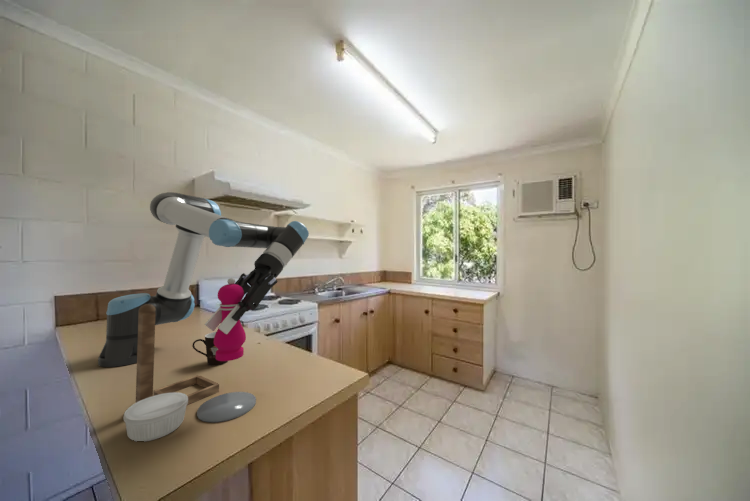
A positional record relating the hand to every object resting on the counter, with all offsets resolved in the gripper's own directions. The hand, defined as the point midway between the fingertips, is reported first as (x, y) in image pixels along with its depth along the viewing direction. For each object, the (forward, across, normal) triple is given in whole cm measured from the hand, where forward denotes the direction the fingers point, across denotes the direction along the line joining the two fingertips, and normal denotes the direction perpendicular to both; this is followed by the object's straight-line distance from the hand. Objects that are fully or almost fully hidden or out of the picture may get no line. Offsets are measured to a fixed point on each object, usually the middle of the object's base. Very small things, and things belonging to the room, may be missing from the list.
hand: (215, 329), depth 66 cm
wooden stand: (+16, +16, -13) cm, 26 cm away
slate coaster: (+12, 0, -17) cm, 21 cm away
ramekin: (+21, +5, -8) cm, 23 cm away
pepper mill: (+3, 0, -8) cm, 9 cm away
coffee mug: (+2, +33, -27) cm, 43 cm away
